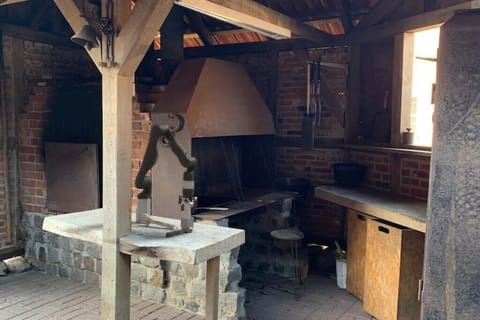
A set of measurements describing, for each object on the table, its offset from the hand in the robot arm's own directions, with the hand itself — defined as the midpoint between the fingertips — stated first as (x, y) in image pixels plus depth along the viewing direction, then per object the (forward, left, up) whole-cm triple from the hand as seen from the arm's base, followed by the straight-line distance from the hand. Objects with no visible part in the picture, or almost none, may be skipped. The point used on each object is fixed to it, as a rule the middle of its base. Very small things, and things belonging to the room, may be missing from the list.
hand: (187, 211), depth 290 cm
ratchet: (0, -8, -13) cm, 15 cm away
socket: (0, 0, -10) cm, 10 cm away
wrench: (-23, -3, -14) cm, 27 cm away
